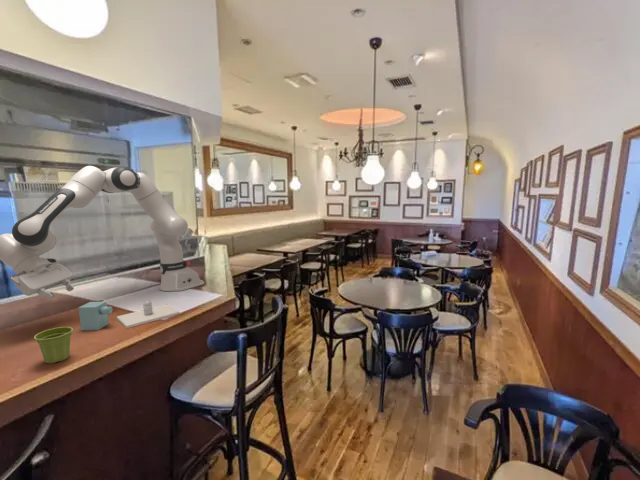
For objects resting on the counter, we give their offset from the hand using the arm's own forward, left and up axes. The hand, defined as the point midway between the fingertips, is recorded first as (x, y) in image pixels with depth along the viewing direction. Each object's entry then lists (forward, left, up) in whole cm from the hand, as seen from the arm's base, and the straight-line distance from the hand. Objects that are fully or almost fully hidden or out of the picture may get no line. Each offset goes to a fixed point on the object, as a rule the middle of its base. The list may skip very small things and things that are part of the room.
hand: (62, 293), depth 127 cm
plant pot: (+6, +29, -14) cm, 33 cm away
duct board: (-26, +12, -13) cm, 31 cm away
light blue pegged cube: (-9, +9, -13) cm, 19 cm away
